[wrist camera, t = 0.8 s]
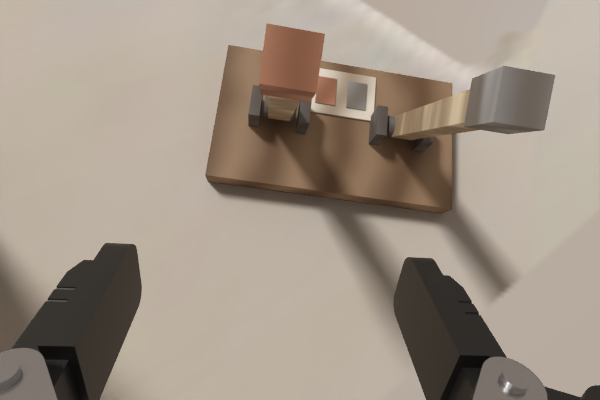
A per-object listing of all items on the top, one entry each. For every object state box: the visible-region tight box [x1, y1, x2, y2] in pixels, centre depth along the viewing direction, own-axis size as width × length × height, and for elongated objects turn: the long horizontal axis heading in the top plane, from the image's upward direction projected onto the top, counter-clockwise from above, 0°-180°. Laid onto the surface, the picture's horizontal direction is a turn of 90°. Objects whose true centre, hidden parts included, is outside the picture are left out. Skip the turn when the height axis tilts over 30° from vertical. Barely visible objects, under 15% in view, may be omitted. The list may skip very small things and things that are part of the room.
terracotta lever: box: [259, 24, 325, 122], centre depth 28 cm, size 3×3×19 cm
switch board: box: [206, 45, 452, 213], centre depth 38 cm, size 24×14×4 cm, turn 84°
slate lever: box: [386, 66, 555, 141], centre depth 29 cm, size 3×3×19 cm
